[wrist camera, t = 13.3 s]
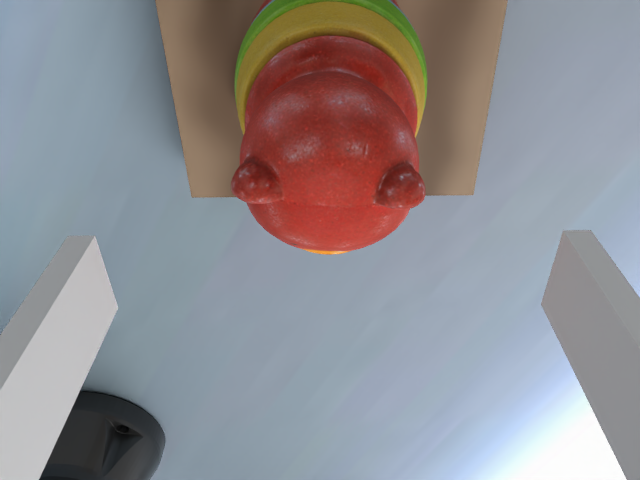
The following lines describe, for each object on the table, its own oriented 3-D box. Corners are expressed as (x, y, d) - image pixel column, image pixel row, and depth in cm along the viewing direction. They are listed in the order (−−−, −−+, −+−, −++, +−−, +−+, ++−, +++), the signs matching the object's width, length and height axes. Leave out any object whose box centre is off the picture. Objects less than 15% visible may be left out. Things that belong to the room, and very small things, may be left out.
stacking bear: (235, 119, 34) (167, 309, 20) (243, -57, 29) (156, 33, 14) (398, 141, 35) (447, 339, 21) (439, -26, 29) (547, 89, 15)
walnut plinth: (202, 170, 41) (191, 197, 38) (149, -149, 29) (127, -150, 26) (461, 168, 41) (473, 195, 38) (512, -158, 29) (535, -159, 26)
